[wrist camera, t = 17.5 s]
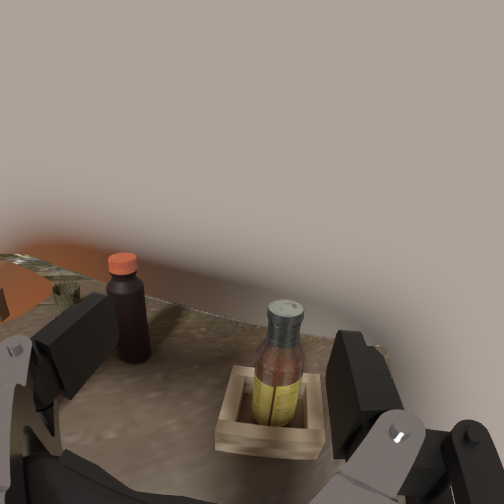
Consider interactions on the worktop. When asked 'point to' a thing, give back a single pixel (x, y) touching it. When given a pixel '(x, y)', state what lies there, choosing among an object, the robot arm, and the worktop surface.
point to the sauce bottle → (279, 366)
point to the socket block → (268, 437)
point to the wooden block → (3, 306)
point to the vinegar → (129, 308)
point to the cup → (66, 295)
